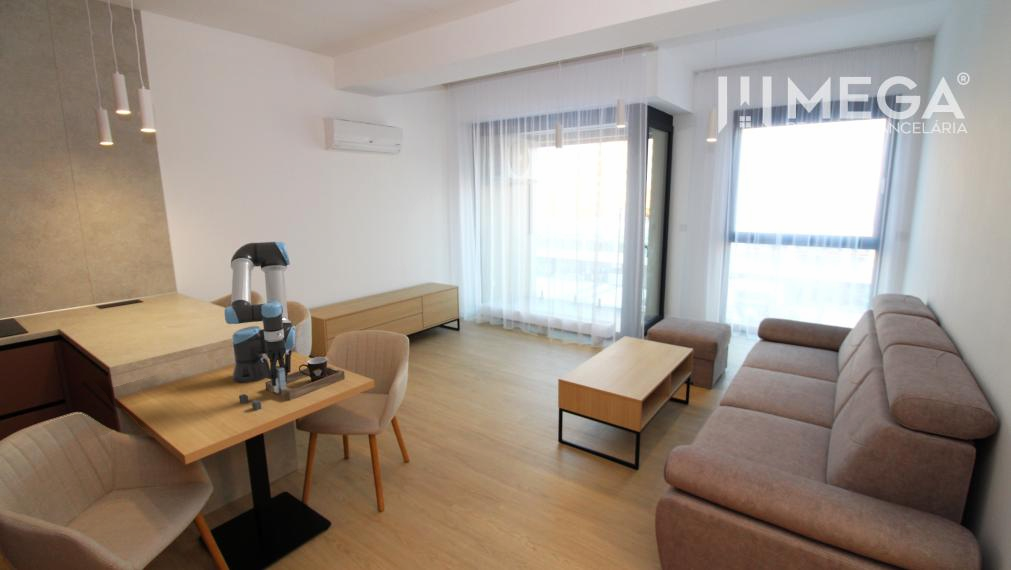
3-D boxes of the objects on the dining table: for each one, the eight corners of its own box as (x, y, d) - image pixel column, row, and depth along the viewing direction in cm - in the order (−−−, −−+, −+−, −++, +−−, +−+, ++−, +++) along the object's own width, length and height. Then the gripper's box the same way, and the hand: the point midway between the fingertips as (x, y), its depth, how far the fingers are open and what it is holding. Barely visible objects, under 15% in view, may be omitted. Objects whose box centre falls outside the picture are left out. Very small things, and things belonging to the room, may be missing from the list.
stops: (239, 402, 199) (239, 395, 198) (244, 400, 200) (243, 393, 200) (256, 410, 192) (255, 403, 191) (261, 408, 193) (260, 401, 193)
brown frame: (266, 389, 211) (263, 364, 208) (320, 370, 233) (318, 346, 230) (290, 399, 201) (287, 373, 198) (344, 378, 223) (342, 354, 220)
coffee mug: (332, 377, 224) (330, 357, 222) (323, 384, 216) (321, 364, 214) (308, 376, 225) (306, 356, 223) (299, 383, 217) (297, 363, 215)
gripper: (261, 345, 193) (267, 399, 198) (296, 335, 206) (301, 386, 211) (251, 342, 197) (258, 395, 202) (286, 333, 210) (291, 382, 215)
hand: (280, 390), depth 206 cm, fingers closed on brown frame, 2 cm apart
